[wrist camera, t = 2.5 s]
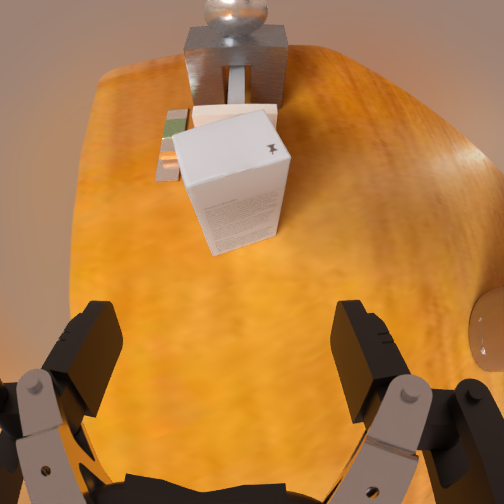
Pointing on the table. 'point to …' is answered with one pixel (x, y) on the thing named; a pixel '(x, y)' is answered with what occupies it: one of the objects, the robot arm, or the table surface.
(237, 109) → the gauge plunger
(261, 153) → the skincare box
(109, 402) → the table surface
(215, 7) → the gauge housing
